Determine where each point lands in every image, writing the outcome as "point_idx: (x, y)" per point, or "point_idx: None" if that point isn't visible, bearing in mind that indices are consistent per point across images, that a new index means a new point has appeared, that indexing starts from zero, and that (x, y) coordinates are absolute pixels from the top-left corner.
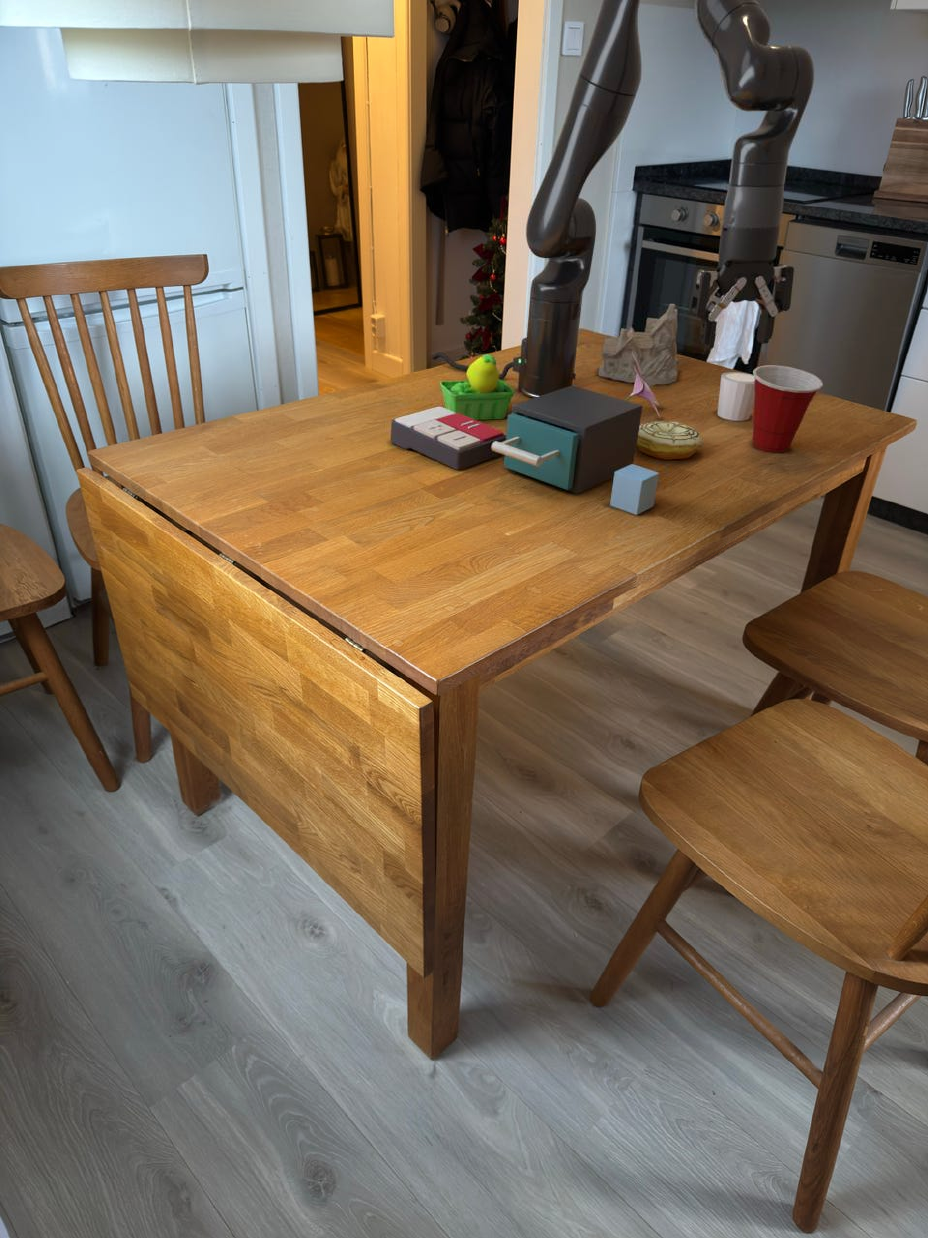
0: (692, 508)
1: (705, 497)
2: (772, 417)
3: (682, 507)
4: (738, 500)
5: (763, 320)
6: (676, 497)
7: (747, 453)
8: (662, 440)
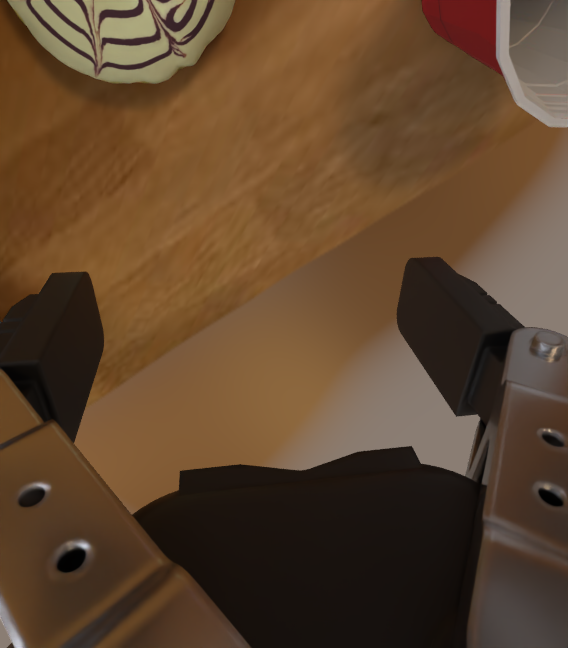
0: None
1: (132, 286)
2: (467, 43)
3: None
4: (197, 301)
5: (454, 360)
6: None
7: (367, 28)
8: (59, 50)
